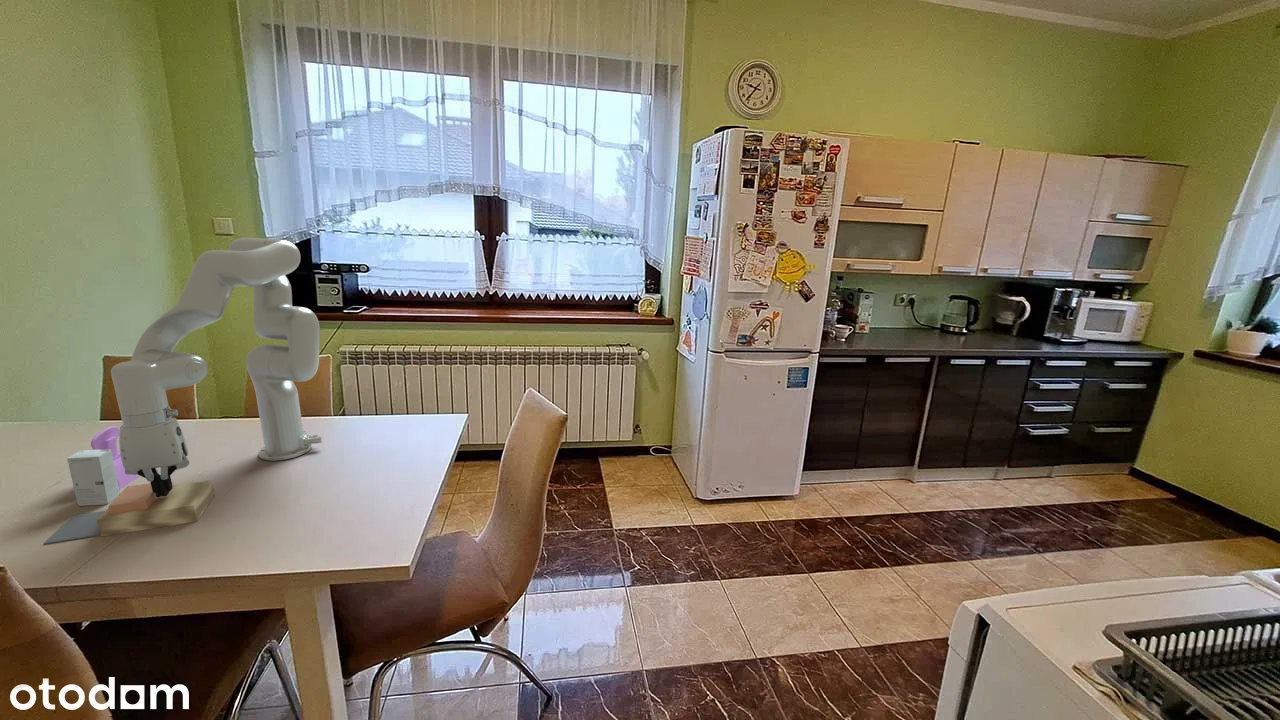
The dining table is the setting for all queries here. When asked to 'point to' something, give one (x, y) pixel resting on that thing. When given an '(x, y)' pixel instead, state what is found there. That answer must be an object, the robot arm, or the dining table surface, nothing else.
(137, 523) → the board
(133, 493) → the tile
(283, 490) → the dining table surface
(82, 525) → the mat
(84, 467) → the skincare box
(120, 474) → the purple flanged fixture
